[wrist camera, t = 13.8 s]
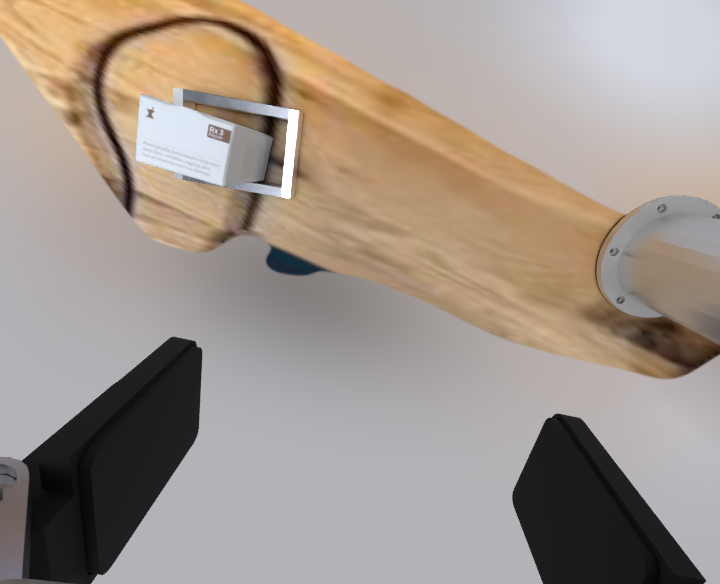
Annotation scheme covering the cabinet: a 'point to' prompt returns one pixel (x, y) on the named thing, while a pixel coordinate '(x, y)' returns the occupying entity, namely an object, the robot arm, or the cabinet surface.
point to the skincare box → (199, 144)
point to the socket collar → (292, 116)
